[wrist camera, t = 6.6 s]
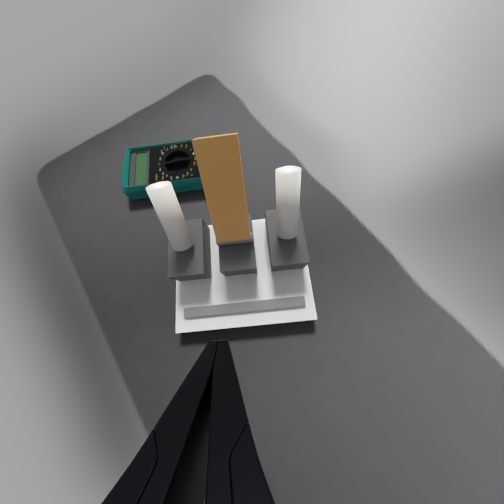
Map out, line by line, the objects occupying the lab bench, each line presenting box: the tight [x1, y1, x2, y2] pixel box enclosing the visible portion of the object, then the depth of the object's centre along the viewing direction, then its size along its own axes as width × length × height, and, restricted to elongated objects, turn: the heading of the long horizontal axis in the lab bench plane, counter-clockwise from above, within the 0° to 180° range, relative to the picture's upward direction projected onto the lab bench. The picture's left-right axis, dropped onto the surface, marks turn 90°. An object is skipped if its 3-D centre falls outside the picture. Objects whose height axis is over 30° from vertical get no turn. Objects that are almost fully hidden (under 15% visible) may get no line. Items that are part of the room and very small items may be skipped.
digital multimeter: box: [122, 140, 203, 200], centre depth 27 cm, size 7×15×3 cm, turn 97°
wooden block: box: [191, 133, 253, 246], centre depth 17 cm, size 2×4×9 cm
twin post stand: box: [145, 166, 317, 333], centre depth 18 cm, size 13×15×11 cm
